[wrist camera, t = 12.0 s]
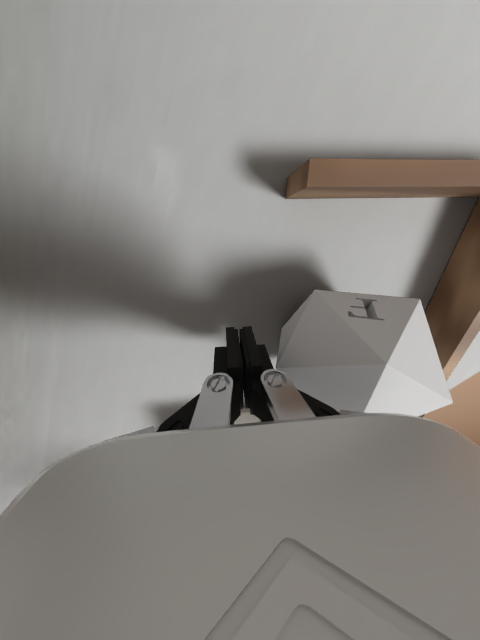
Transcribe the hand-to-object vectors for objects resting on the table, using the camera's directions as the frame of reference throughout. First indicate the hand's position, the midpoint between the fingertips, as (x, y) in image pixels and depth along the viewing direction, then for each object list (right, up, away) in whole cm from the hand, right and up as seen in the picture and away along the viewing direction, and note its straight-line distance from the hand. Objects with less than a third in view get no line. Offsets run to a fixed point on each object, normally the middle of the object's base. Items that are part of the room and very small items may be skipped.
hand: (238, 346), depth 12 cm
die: (+6, +1, +3) cm, 7 cm away
